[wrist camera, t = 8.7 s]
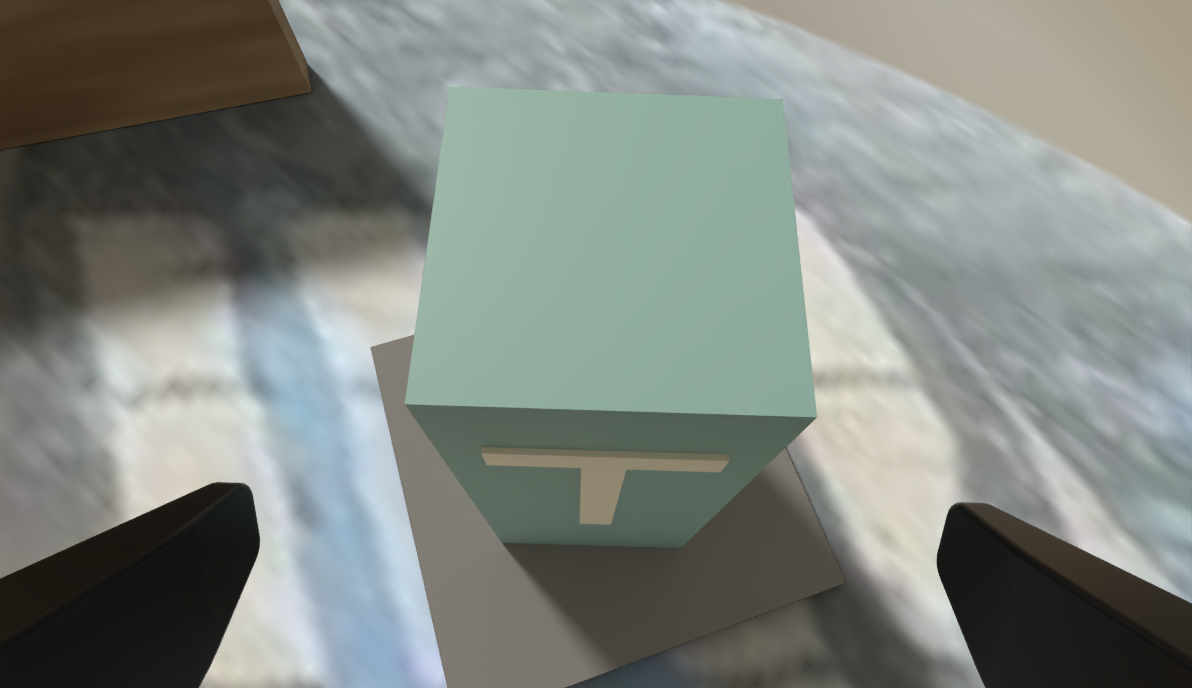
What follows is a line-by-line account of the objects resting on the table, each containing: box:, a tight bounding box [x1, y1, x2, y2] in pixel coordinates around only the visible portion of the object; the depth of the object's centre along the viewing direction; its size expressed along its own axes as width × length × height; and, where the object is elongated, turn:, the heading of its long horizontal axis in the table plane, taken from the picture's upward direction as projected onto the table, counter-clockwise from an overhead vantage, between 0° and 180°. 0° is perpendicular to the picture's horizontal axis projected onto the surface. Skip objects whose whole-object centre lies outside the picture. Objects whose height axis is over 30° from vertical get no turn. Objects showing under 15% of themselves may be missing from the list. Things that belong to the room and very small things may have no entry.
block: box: [405, 87, 817, 548], centre depth 15 cm, size 5×5×12 cm
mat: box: [371, 335, 846, 688], centre depth 21 cm, size 11×11×1 cm
